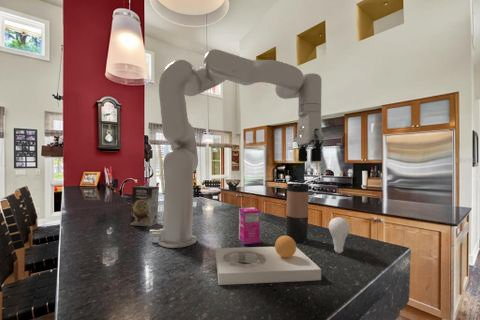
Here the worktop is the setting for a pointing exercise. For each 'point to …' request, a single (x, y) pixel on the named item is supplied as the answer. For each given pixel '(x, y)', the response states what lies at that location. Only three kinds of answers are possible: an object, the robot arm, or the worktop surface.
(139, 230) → the worktop surface
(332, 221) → the lightbulb
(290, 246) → the ball
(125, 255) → the worktop surface
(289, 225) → the travel mug
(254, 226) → the supplement box
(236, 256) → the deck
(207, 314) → the worktop surface
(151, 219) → the coffee box
